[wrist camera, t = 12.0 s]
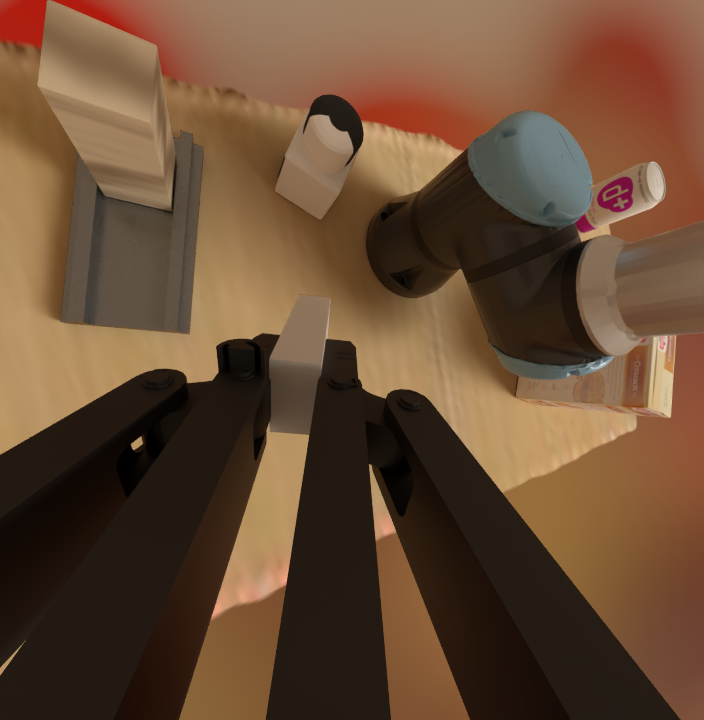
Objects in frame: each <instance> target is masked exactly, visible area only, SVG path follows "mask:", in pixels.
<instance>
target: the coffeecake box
mask: <svg viewBox="0 0 704 720" xmlns="http://www.w3.org/2000/svg"><path fill="white" fill-rule="evenodd" d="M675 344H676V335H670V336H659V337H647V338H644V339H643V340H642V341H640V342H639V343H638V344H637V345H636V346H635V347H634V348H633V349H632V350H631V351H630V352H628V353H627V354H624V355H620V356H615V357H614V358H613V360H612V361H611V362H610V363H608V364H607V365H606V366H605V367H603V368H601V369H599V370H597V371H595V372H592V373H590V374H586V375H582V376H576V375H570V376H568V378H567V379H558V380H537V379H530V378H525V377H521V376H519V378H518V384H517V390H516V396H515V397H516V398H518V399H521V400H524V401H526V402H529V403H532V404H535V405H540V406H549V407H560V408H569V409H580V410H590V411H601V412H611V413H622V414H632V415H643V416H653V417H665V418H670V417H671V406H672V387H673V373H674V358H675Z"/></svg>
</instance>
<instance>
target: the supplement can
mask: <svg viewBox="0 0 704 720" xmlns="http://www.w3.org/2000/svg"><path fill="white" fill-rule="evenodd" d="M591 190H592V191H593V197H592V202H591V205H590V207H589V209H588V210H587V211H586V213H585V214H584V215H583V216H581V218H580V219H579V220H578V221H576V222H575V224H576V227H577V230H578V234H579V235H581V234H584V233H587V232H589V231H592V230H595V229H597V228H600V227H603V226H605V225H608V224H611V223H613V222H616V221H619V220H621V219H624V218H626V217H629V216H632V215H635V214H637V213H640V212H642V211H645V210H648V209H651V208H652V207H654V206H655V205H656V204H657V203H658V202H660V201H662V200H663V199H664V197H665V191H666V185H665V179H664V175H663V173H662V170H661V168H660V167H659V166H658V164H657V163H655V162H650V163H643V164H638V165H636V166H634V167H632V168H630V169H628V170H626V171H624V172H621V173H619V174H617V175H615V176H613V177H611V178H609V179H607V180H605V181H603V182H601V183H599V184H597V185H595V186H593V187H591Z"/></svg>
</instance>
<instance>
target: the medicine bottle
mask: <svg viewBox="0 0 704 720" xmlns="http://www.w3.org/2000/svg"><path fill="white" fill-rule="evenodd" d="M363 135H364V133H363V127H362V123H361V120H360V117H359V115H358V114H357V112H356V110H355V109H354V108H353V107H352V106H351V105H350V104H349V103H348V102H347V101H346V100H344V99H343V98H341V97H339V96H335V95H322V96H320V97H318V98H317V99H315V100H314V102H313V103H312V105H311V108H310V110H307V111H306V113H305V115H304V117H303V119H302V121H301V123H300V125H299V127H298V129H297V131H296V133H295V135H294V138H293V140H292V142H291V144H290V146H289V148H288V150H287V152H286V154H285V156H284V159H283V162H282V165H281V168H280V171H279V174H278V177H277V180H276V183H275V187H274V190H275V192H277V193H278V194H280V195H281V196H283V197H284V198H286V199H288V200H289V201H291V202H292V203H294V204H295V205H297V206H298V207H300V208H302V209H303V210H305V211H306V212H308V213H309V214H311V215H312V216H314V217H315V218H317V219H319V220H321V219H322V218H323V217H324V215H325V214H326V212H327V211H328V210H329V208H330V207H331V205H332V204H333V203H334V201H335V200H336V198H337V197H338V195H339V194H340V192H341V190H342V187H343V185H344V183H345V181H346V178H347V176H348V174H349V171H350V169H351V167H352V164H353V162H354V160H355V157H356V155H357V153H358V149H359V148H360V146H361V144H362V142H363Z"/></svg>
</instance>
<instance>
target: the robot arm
mask: <svg viewBox="0 0 704 720" xmlns="http://www.w3.org/2000/svg"><path fill="white" fill-rule="evenodd" d="M592 183H593V181H592V175H591V171H590V168H589V165H588V162H587V160H586V158H585V156H584V154H583V152H582V150H581V148H580V146H579V145H578V143H577V142H576V140H575V139H574V138H573V137H572V135H571V134H570V133H569V132H568V131H567V130H566V128H565V127H563V126H562V125H561V124H560V123H558V122H557V121H556V120H554V119H553V118H551V117H550V116H548V115H546V114H543V113H541V112H537V111H529V110H528V111H520V112H516V113H513V114H511V115H509V116H507V117H506V118H504V119H503V120H501V121H500V122H499V123H498V124H496V125H495V126H494V127H493V128H491V129H490V130H489V131H488V132H486V133H485V134H483V135H480V136H479V137H477V138H476V139H475V140H474V141H473V142H472V143H471V145H470V146H469V147H468V148H467V149H466V150H465V151H464V152H463V153H462V154H460V155H459V156H458V157H457V158H456V159H455V160H454V161H453V162H451V163H450V164H449V165H448V166H447V167H446V168H445V169H444V170H443V171H441V172H440V173H439V174H438V175H437V176H436V177H435V178H434V179H432V180H431V181H430V182H429V183H428V184H427V185H426V186H425V187H424V188H422V189H421V190H420V191H417V192H414V193H411V194H408V195H405V196H402V197H399V198H396V199H393V200H392V201H390V202H388V203H387V204H386V205H384V206H383V207H382V208H381V209H380V210H379V211H378V212H377V213H376V214H375V216H374V217H373V219H372V220H371V222H370V225H369V228H368V231H367V239H366V246H367V253H368V258H369V261H370V264H371V266H372V268H373V270H374V272H375V274H376V276H377V277H378V278H379V280H380V281H381V282H382V283H383V284H384V285H385V286H386V287H387V288H388V289H389V290H391V291H392V292H394V293H396V294H398V295H400V296H403V297H407V298H418V297H422V296H425V295H428V294H430V293H433V292H435V291H436V290H438V289H439V288H441V287H442V286H443V285H444V284H445V283H446V282H447V281H448V280H449V279H450V278H451V277H452V276H453V275H454V274H455V273H456V272H457V271H458V270H459V269H462V272H463V274H464V276H465V279H466V281H467V284H468V287H469V289H470V292H471V295H472V297H473V300H474V302H475V305H476V307H477V310H478V313H479V315H480V318H481V320H482V323H483V325H484V328H485V331H486V333H487V336H488V342H489V344H490V346H491V347H492V348H493V350H494V351H495V353H496V355H497V357H498V360H499V362H500V363H501V365H502V366H503V367H504V368H505V369H506V370H508V371H509V372H511V373H513V374H515V375H518V376H521V377H525V378H530V379H537V380H558V379H567V378H568V376H570V375H576V376H582V375H586V374H590V373H592V372H595V371H597V370H599V369H601V368H603V367H605V366H606V365H607V364H608V363H610V362H611V361H612V360H613V358H614V357H615V356H620V355H624V354H627V353H628V352H630V351H631V350H632V349H633V348H634V347H635V346H636V345H637V344H638V343H639V342H640V341H642V340H643V339H644V338H647V337H659V336H670V335H681V334H694V333H704V220H703V221H700V222H697V223H694V224H691V225H687V226H684V227H681V228H678V229H675V230H671V231H668V232H665V233H662V234H658V235H655V236H652V237H649V238H646V239H642V240H639V241H636V242H633V243H629V242H626V241H624V240H621V239H619V238H617V237H614V236H611V235H602V236H598V237H595V238H592V239H589V240H586V241H583V242H581V240H580V237H579V234H578V230H577V227H576V224H575V222H576V221H578V220H579V219H580V218H581V216H583V215H584V214H585V213H586V211H587V210H588V209H589V207H590V205H591V202H592V197H593V191H592V190H591V188H590V186H591V185H592ZM330 302H331V298H329V297H320V296H311V295H302V294H300V295H299V297H298V299H297V301H296V303H295V305H294V307H293V309H292V312H291V314H290V316H289V318H288V320H287V322H286V324H285V326H284V329H283V331H282V333H281V335H274V334H264V333H262V334H260V335H258V336H256V337H254V338H253V339H252V340H251V339H233V340H228V341H225V342H222V343H220V344H219V345H217V346H216V349H217V358H218V368H219V372H218V374H217V375H216V377H215V378H214V379H213V380H212V381H206V382H196V383H187V378H186V376H185V375H184V373H183V372H180V371H178V370H173V369H155V370H153V371H148V372H145V373H143V374H140V375H138V376H136V377H134V378H132V379H131V380H129V381H127V382H126V383H124V384H122V385H120V386H119V387H117V388H115V389H113V390H112V391H110V392H108V393H107V394H105V395H103V396H101V397H100V398H98V399H96V400H94V401H93V402H91V403H89V404H88V405H86V406H84V407H82V408H81V409H79V410H77V411H75V412H74V413H72V414H70V415H68V416H67V417H65V418H63V419H62V420H60V421H58V422H56V423H55V424H53V425H51V426H49V427H48V428H46V429H44V430H43V431H41V432H39V433H37V434H36V435H34V436H32V437H30V438H29V439H27V440H25V441H24V442H22V443H20V444H18V445H17V446H15V447H13V448H11V449H10V450H8V451H6V452H4V453H3V454H1V455H0V667H1V666H2V665H3V664H4V663H5V662H6V661H7V660H8V659H9V658H10V657H11V655H12V654H13V653H14V652H15V651H16V650H17V649H18V648H19V647H20V646H21V645H22V644H23V643H24V644H23V645H22V646H21V648H20V649H19V650H18V652H17V653H16V655H15V656H14V657H13V659H12V660H11V662H10V663H9V664H8V666H7V667H6V669H5V670H4V671H3V673H2V674H1V675H0V720H179V718H180V714H181V711H182V708H183V705H184V702H185V698H186V695H187V692H188V689H189V686H190V683H191V680H192V677H193V673H194V670H195V667H196V664H197V661H198V657H199V654H200V651H201V648H202V645H203V642H204V638H205V635H206V632H207V629H208V626H209V623H210V620H211V616H212V613H213V610H214V607H215V604H216V601H217V598H218V594H219V591H220V588H221V585H222V582H223V579H224V575H225V572H226V569H227V566H228V563H229V560H230V556H231V553H232V550H233V547H234V544H235V541H236V538H237V534H238V531H239V528H240V525H241V522H242V519H243V515H244V512H245V509H246V506H247V503H248V500H249V496H250V493H251V490H252V487H253V484H254V481H255V477H256V474H257V471H258V468H259V465H260V462H261V459H262V455H263V452H264V449H265V446H266V438H267V437H266V430H267V427H268V424H269V421H270V432H281V433H294V434H306V435H309V442H308V448H307V455H306V461H305V468H304V474H303V481H302V487H301V494H300V500H299V507H298V513H297V520H296V526H295V533H294V539H293V546H292V552H291V559H290V565H289V572H288V578H287V585H286V591H285V598H284V604H283V611H282V617H281V624H280V630H279V637H278V644H277V650H276V657H275V663H274V670H273V676H272V682H271V689H270V695H269V702H268V709H267V715H266V720H391V716H390V705H389V692H388V681H387V669H386V659H385V646H384V634H383V623H382V611H381V599H380V588H379V576H378V565H377V553H376V542H375V530H374V518H373V507H372V495H371V484H370V472H369V464H371V465H372V469H373V473H374V475H375V478H376V481H377V483H378V486H379V488H380V491H381V493H382V496H383V498H384V501H385V504H386V506H387V509H388V511H389V514H390V516H391V519H392V521H393V524H394V527H395V529H396V532H397V534H398V537H399V539H400V542H401V544H402V547H403V550H404V552H405V555H406V557H407V560H408V562H409V565H410V567H411V570H412V572H413V575H414V577H415V580H416V582H417V585H418V588H419V590H420V593H421V595H422V598H423V600H424V603H425V606H426V608H427V611H428V613H429V616H430V618H431V621H432V624H433V626H434V629H435V631H436V634H437V636H438V639H439V641H440V644H441V647H442V649H443V652H444V654H445V657H446V659H447V662H448V664H449V667H450V670H451V672H452V675H453V677H454V680H455V682H456V685H457V687H458V690H459V692H460V695H461V698H462V700H463V703H464V705H465V708H466V710H467V713H468V716H469V718H470V720H680V719H679V717H678V716H677V715H676V713H675V712H674V711H673V710H672V708H671V707H670V706H669V705H668V703H667V702H666V701H665V700H664V698H663V697H662V696H661V695H660V693H659V692H658V691H657V689H656V688H655V687H654V685H653V684H652V683H651V682H650V680H649V679H648V678H647V677H646V675H645V674H644V673H643V671H642V670H641V669H640V668H639V666H638V665H637V664H636V663H635V661H634V660H633V659H632V657H631V656H630V655H629V654H628V652H627V651H626V650H625V649H624V647H623V646H622V645H621V643H620V642H619V641H618V640H617V638H616V637H615V636H614V635H613V633H612V632H611V631H610V629H609V628H608V627H607V626H606V624H605V623H604V622H603V621H602V619H601V618H600V617H599V615H598V614H597V613H596V612H595V610H594V609H593V608H592V607H591V605H590V604H589V603H588V602H587V600H586V599H585V598H584V596H583V595H582V594H581V593H580V591H579V590H578V589H577V588H576V586H575V585H574V584H573V582H572V581H571V580H570V579H569V577H568V576H567V575H566V574H565V572H564V571H563V570H562V568H561V567H560V566H559V565H558V563H557V562H556V561H555V560H554V558H553V557H552V556H551V554H550V553H549V552H548V551H547V549H546V548H545V547H544V546H543V544H542V543H541V542H540V540H539V539H538V538H537V537H536V535H535V534H534V533H533V532H532V530H531V529H530V528H529V526H528V525H527V524H526V523H525V521H524V520H523V519H522V518H521V516H520V515H519V514H518V513H517V511H516V510H515V509H514V507H513V506H512V505H511V504H510V502H509V501H508V500H507V498H506V497H505V496H504V495H503V493H502V492H501V491H500V490H499V488H498V487H497V486H496V484H495V483H494V482H493V481H492V479H491V478H490V477H489V476H488V474H487V473H486V472H485V470H484V469H483V468H482V467H481V465H480V464H479V463H478V462H477V460H476V459H475V458H474V456H473V455H472V454H471V453H470V451H469V450H468V449H467V448H466V446H465V445H464V444H463V442H462V441H461V440H460V439H459V437H458V436H457V435H456V434H455V432H454V431H453V430H452V428H451V427H450V426H449V425H448V423H447V422H446V421H445V420H444V418H443V417H442V416H441V414H440V413H439V412H438V411H437V409H436V408H435V407H434V406H433V404H432V403H431V402H430V401H429V400H428V399H427V398H426V397H425V396H423V395H421V394H419V393H418V392H415V391H412V390H404V389H399V390H394V391H392V392H390V393H388V395H387V397H386V399H385V398H382V397H378V396H375V395H373V394H370V393H369V392H367V391H365V390H364V389H363V388H362V384H361V381H360V380H359V379H358V371H357V357H356V347H355V346H354V345H353V344H352V343H351V342H350V341H341V340H332V339H327V335H328V324H329V313H330ZM140 436H141V437H142V441H143V444H142V445H141V446H140V447H139V448H137V449H135V450H133V449H132V447H131V443H133V442H134V441H135V440H136V439H138V438H139V437H140ZM25 640H26V641H25ZM24 641H25V642H24Z"/></svg>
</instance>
